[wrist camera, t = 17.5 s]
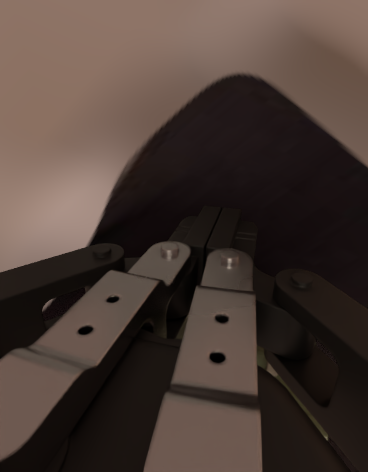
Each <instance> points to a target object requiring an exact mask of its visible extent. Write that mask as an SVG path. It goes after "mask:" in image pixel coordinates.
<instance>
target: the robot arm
mask: <svg viewBox="0 0 368 472" xmlns="http://www.w3.org/2000/svg"><path fill="white" fill-rule="evenodd" d="M257 229H258V228H257V227H256V226H255V224H254V223H253V222H246V221H241V209H234V208H224V207H223V209H222V207H213V206H204V207H203V208H202V210H201V212H200V213H199V215H198V216H189V217H187V218H185V219H183V220H182V221H181V222H180V224H179V225H178V227H177V228H176V230H175V231H174V233H173V234H172V236H171V237H170V238H169V240H168V241H165V242H160V243H157V244H154V245H153V246H151V247H150V248H149V249H148V250H147V252H146V253H145V254H144V255H143V256H142V257H137V258H124V250H123V248H122V247H121V246H119V245H116V244H111V243H102V244H96V245H92V246H89V247H85V248H82V249H79V250H75V251H72V252H69V253H65V254H62V255H59V256H55V257H52V258H48V259H45V260H41V261H38V262H34V263H31V264H28V265H24V266H21V267H18V268H14V269H11V270H8V271H4V272H1V273H0V472H351V471H350V470H349V468H348V467H347V466H346V464H345V463H344V462H343V461H342V459H341V458H340V457H339V455H338V454H337V453H336V451H335V450H334V449H333V448H332V446H331V445H330V444H329V442H328V441H327V440H326V438H325V437H324V436H323V435H322V433H321V432H320V431H319V429H318V428H317V427H316V426H315V424H314V423H313V422H312V420H311V419H310V418H309V416H308V415H307V414H306V413H305V411H304V410H303V409H302V407H301V406H300V405H299V403H298V402H297V401H296V400H295V398H294V397H293V396H292V394H291V393H290V392H289V391H288V389H287V388H286V387H285V386H284V385H283V384H282V383H281V382H280V381H279V380H278V379H277V378H275V377H274V376H273V375H272V374H271V373H269V372H268V371H266V370H265V369H263V368H262V367H260V366H259V365H257V346H260V347H262V348H264V356H265V358H266V360H267V362H268V363H269V364H270V365H271V367H272V368H273V369H274V370H275V371H276V373H277V374H278V375H279V376H280V377H281V379H282V380H283V381H284V382H285V383H286V385H287V386H288V387H289V388H290V389H291V391H292V392H293V393H294V394H295V395H296V397H297V398H298V399H299V400H300V401H301V403H302V404H303V405H304V406H305V407H306V409H307V410H308V411H309V412H310V413H311V415H312V416H313V417H314V418H315V420H316V421H317V422H318V423H319V424H320V426H321V427H322V428H323V429H324V430H325V432H326V433H327V434H328V435H329V436H330V438H331V439H332V440H333V441H334V442H335V444H336V445H337V446H338V447H339V448H340V450H341V451H342V452H343V453H344V454H345V456H346V457H347V458H348V459H349V460H350V462H351V463H352V464H353V465H354V466H355V468H356V469H357V470H358V471H359V472H368V309H367V308H365V307H364V306H362V305H361V304H359V303H358V302H356V301H355V300H354V299H352V298H351V297H349V296H348V295H346V294H345V293H343V292H342V291H341V290H339V289H338V288H336V287H335V286H333V285H332V284H330V283H329V282H327V281H326V280H325V279H323V278H322V277H320V276H319V275H317V274H315V273H312V272H310V271H306V270H302V269H286V270H282V271H280V272H279V273H278V274H277V275H276V277H272V276H269V275H267V274H265V273H263V272H261V271H260V270H258V269H257V268H256V267H255V265H254V255H255V246H256V238H257ZM83 287H85V291H86V294H85V295H84V296H83V297H81V298H80V299H79V300H78V301H77V302H76V303H75V304H74V305H73V306H72V307H71V308H70V309H69V310H68V311H67V312H66V313H65V314H63V315H61V316H58V317H56V318H53V319H51V320H48V321H44V319H43V315H42V309H43V306H44V305H45V303H47V302H48V301H49V300H51V299H53V298H56V297H59V296H61V295H64V294H67V293H70V292H72V291H75V290H78V289H81V288H83ZM182 336H183V338H182ZM181 338H182V339H181ZM316 339H317V340H318V341H320V342H321V343H322V344H323V345H324V346H325V347H326V348H327V349H328V350H329V351H330V352H331V353H332V354H333V355H334V357H335V359H336V361H337V363H338V366H339V367H338V366H337V365H336V364H335V363H334V362H333V361H332V360H331V359H330V358H329V357H327V356H326V355H325V354H324V353H323V352H322V351H321V350H320V349H319V348H318V347H317V346H316V345H315V341H316Z"/></svg>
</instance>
